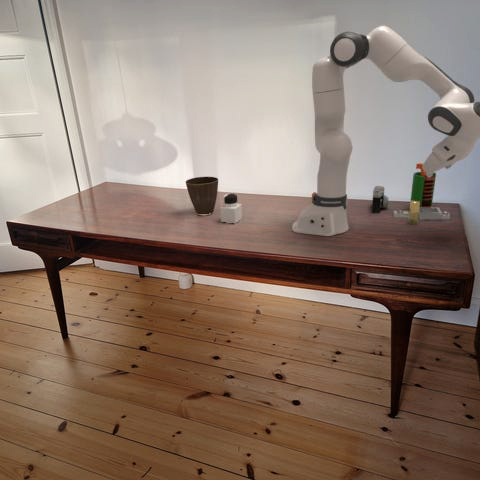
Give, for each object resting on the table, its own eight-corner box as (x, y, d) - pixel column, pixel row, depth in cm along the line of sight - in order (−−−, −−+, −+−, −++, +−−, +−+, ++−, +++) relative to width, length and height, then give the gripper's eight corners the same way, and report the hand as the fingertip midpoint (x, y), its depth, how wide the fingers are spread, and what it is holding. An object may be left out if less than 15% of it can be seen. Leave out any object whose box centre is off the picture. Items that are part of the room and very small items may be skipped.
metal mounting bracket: (394, 219, 177) (394, 211, 176) (393, 213, 184) (393, 206, 183) (450, 221, 171) (451, 213, 170) (447, 215, 178) (448, 207, 177)
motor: (427, 213, 182) (433, 167, 175) (406, 210, 187) (410, 165, 180) (434, 207, 189) (439, 162, 182) (413, 204, 195) (417, 161, 187)
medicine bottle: (242, 219, 188) (241, 193, 183) (235, 224, 182) (233, 197, 177) (228, 218, 190) (226, 192, 186) (220, 222, 185) (218, 196, 180)
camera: (387, 214, 184) (388, 191, 180) (371, 213, 186) (372, 191, 182) (387, 204, 197) (389, 183, 193) (372, 204, 199) (374, 183, 195)
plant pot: (201, 220, 189) (198, 185, 183) (182, 214, 199) (179, 181, 194) (227, 212, 198) (224, 179, 192) (207, 207, 208) (205, 175, 202)
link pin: (408, 224, 171) (410, 202, 167) (407, 221, 174) (410, 200, 170) (418, 224, 170) (420, 202, 166) (417, 221, 173) (419, 200, 170)
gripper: (471, 130, 150) (451, 156, 162) (429, 148, 144) (412, 174, 156) (484, 142, 148) (463, 168, 159) (442, 161, 141) (423, 186, 153)
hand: (437, 171), depth 157 cm, fingers open, 8 cm apart
